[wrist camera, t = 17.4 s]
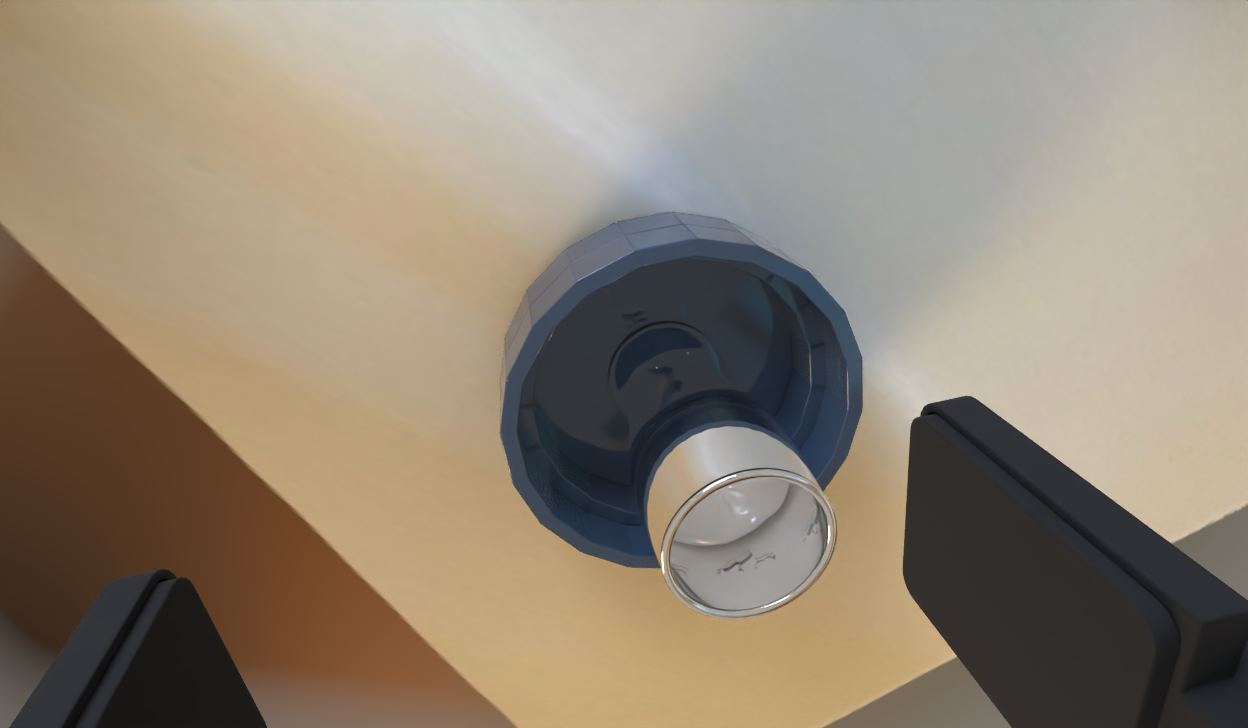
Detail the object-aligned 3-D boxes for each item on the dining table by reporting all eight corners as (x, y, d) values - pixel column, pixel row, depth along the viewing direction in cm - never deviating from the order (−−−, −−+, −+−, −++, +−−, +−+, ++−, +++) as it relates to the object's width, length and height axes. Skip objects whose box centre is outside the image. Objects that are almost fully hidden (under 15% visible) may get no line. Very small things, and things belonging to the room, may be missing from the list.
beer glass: (748, 381, 40) (875, 553, 27) (648, 452, 41) (721, 653, 27) (681, 288, 37) (785, 428, 24) (574, 366, 38) (616, 544, 25)
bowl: (537, 530, 43) (542, 601, 37) (466, 246, 35) (460, 283, 30) (819, 468, 44) (863, 527, 39) (808, 182, 37) (862, 206, 31)
